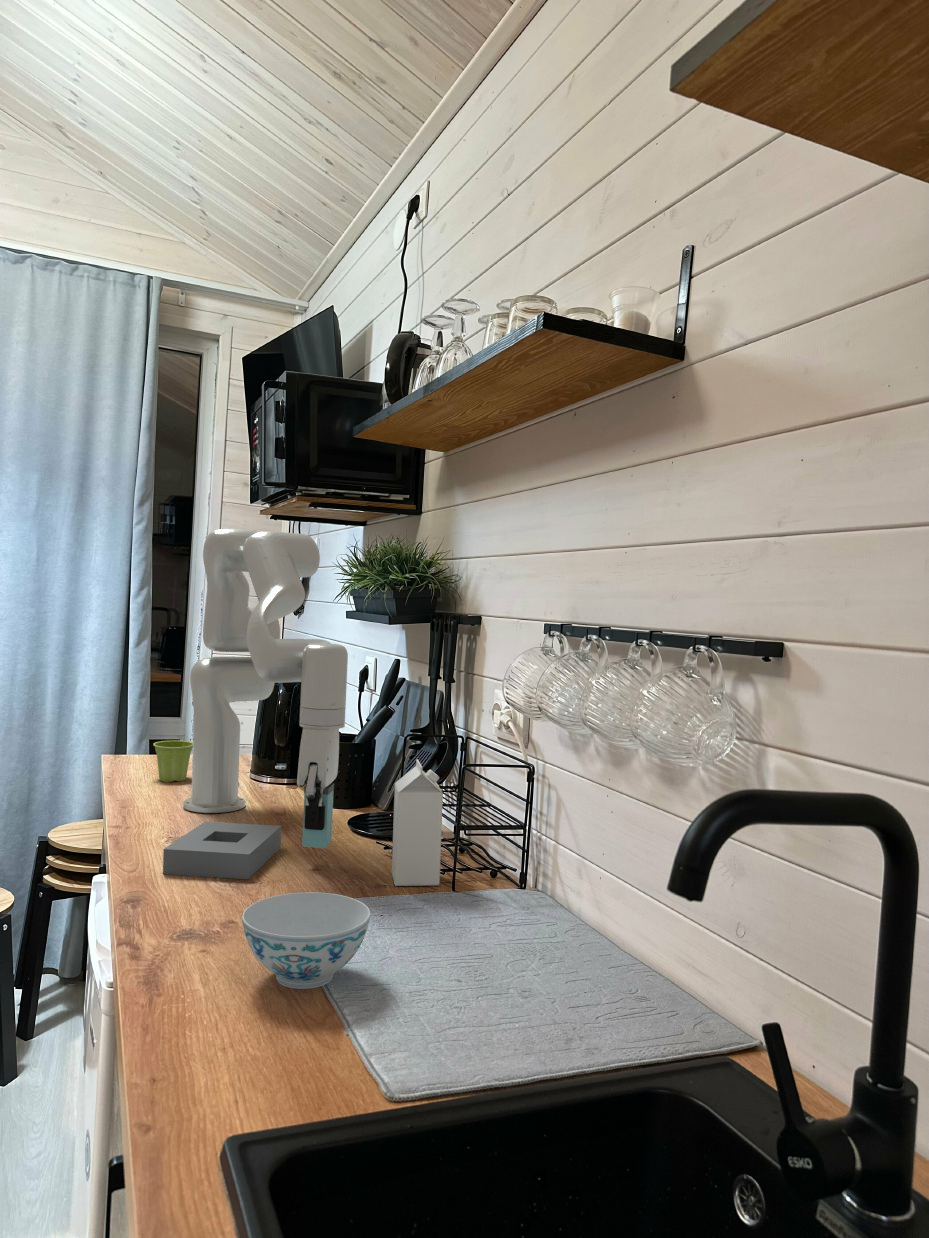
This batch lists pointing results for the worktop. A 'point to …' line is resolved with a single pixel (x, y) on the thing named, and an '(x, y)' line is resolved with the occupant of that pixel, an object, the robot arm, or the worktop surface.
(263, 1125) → the worktop surface
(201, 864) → the socket block
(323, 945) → the chinaware
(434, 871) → the milk carton
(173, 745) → the plant pot
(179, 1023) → the worktop surface
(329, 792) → the peg
